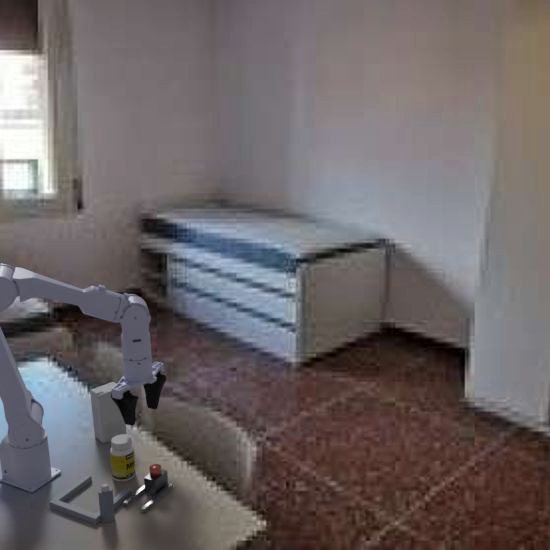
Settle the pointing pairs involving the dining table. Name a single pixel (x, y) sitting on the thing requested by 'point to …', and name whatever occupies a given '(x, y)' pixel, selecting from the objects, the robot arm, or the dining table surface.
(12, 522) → the dining table surface
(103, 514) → the press bed
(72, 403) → the dining table surface
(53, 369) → the dining table surface
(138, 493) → the track
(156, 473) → the grey slider block
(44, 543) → the dining table surface
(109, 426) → the skincare box
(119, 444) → the supplement bottle
